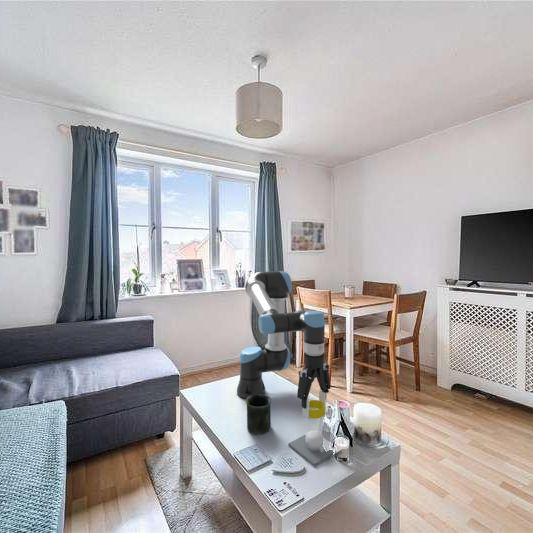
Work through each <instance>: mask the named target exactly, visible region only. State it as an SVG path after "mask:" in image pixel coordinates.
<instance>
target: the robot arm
mask: <svg viewBox="0 0 533 533" xmlns="http://www.w3.org/2000/svg"><path fill="white" fill-rule="evenodd" d="M244 287H245V292H246V294H247V296H248V297H249V298H251V301H252V302H253V304H254V306H255V309H256V311H257V312H258V315H259V317H258V321H257V322H258V324H257V326H258V330H259V332H260V333H261V334H262V335H266V334H267V343H266V344H265V346H264V349H262V348H261V347H260V346H250V347H246V348H244V349H242V350H241V352H240V353H239V381H238V385H237V388H236V394H237V396H238V397H239V398H241V399H244V400H246V399H247V398H248V397H250V396H252V395H256V394H262V395H266V386H265V382H264V380H263V373H270V372H278V371H279V372H281V371H284V370H287V369H288V368H289V367H290V364H291V351H290V349H289V347H287V345H286V344H285V333H293V332H302V333H303V339H304V340H303V342H304V343H303V352H304V353H303V362H304V364H305V366H304V367H305V368H304V370H299V371H298V384H297V385H298V386H297V393H296V398H298V399H299V400H301V408H302V415H303V416H304V417H306V418H309V409H310V408H309V401H310V398H309V396H310V391H311V389H312V384H313V382H314V381H315V379H316V380H317V383H318V386H319V387H320V388H319V389H320V390H318V401H321V402H323V403H324V404H325V411H326V407H327V406H326V405H327V404H326V403H327V401H326V400H327V394H328V393H329V392H330V389H331V379H330V373H329V371H330V364H327V363H325V354H324V353H325V332H326V331H325V330H326V328H325V327H326V325H325V324H326V321H325V314H324V312H322V311H321V310H307V311H305V310H301V309H298V310H295V311H294V312H285V306H286V304H285V303H286V300H287V298H288V297H289V296H288V295H289V294H291V292H292V289H293V283H292V278H291V276H290V275H289V273H288V271H282V270H270V271H257V272H254V273H253V274H251V275H249V277H248V278H247V280H246V282H245V285H244Z"/></svg>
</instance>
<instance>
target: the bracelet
mask: <svg viewBox="0 0 533 533" xmlns="http://www.w3.org/2000/svg"><path fill="white" fill-rule="evenodd" d="M324 416H326V410H325V404H324V403H323V402H321V401H319V399H317V400H316V399H309V417H308V418H309V419H312V420H313V419H314V420H315V419H317V420H318V419H321V418H323V417H324Z"/></svg>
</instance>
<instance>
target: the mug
mask: <svg viewBox="0 0 533 533" xmlns="http://www.w3.org/2000/svg"><path fill="white" fill-rule="evenodd" d="M245 404H246V428H247V430H248V431H249V432H250V433H251V434H253V435H264V434H267V433H268V432H270V430H271V427H272V426H271V425H272V422H271V420H272V419H271V416H272V415H271V412H272V410H271V409H272V408H271V404H272V399H271V397H270V396H268V395H266V394H264V395H262V394H256V395H252V396H250V397H248V398H247V399H245Z"/></svg>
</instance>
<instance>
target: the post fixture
mask: <svg viewBox="0 0 533 533" xmlns="http://www.w3.org/2000/svg"><path fill="white" fill-rule="evenodd" d="M323 436H324V435H323V433H322V432H320V431H318V430H315V429H314V430H313V429H311V430H308V431H307V432H306V433H305V434H304V435H302V436H300V437H298V438H296V439H294V440H292V441H290V442H288V443H287V444H288V447H289V448H290V449H291V450H293V451H294V452H295V453H297V454H298V455H299V456H300V457H302V458H303V459H304V460H305V461H306V462H307V463H309V464H310V465H312V467H314V468H315V467H317V466H318V465H320V464H322V463H323V462H324V461H326V460H328V459H330V458H331V456H332V455H333V453H334V452H333V450H329V451H327V452H326V451H324V448H323V447H322V445H323ZM333 456H334V455H333ZM333 456H332V457H333Z"/></svg>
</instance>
